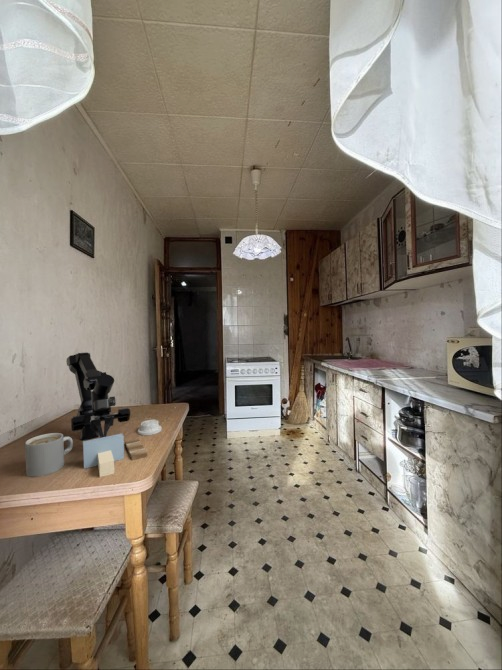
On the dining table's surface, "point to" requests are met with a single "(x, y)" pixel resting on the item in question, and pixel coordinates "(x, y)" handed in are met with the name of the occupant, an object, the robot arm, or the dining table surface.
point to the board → (135, 449)
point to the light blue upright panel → (103, 453)
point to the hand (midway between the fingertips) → (103, 440)
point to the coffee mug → (46, 454)
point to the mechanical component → (149, 427)
